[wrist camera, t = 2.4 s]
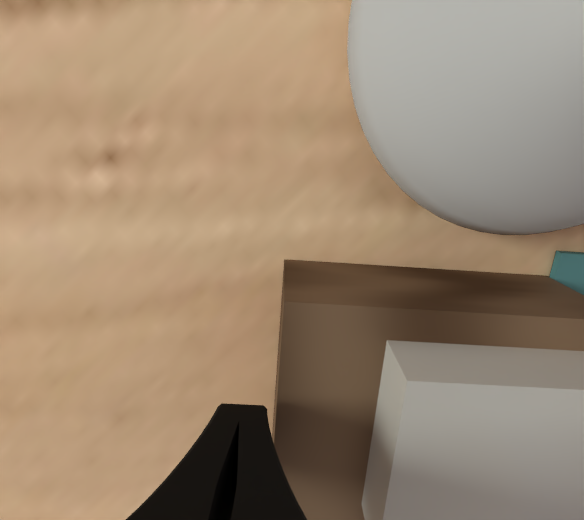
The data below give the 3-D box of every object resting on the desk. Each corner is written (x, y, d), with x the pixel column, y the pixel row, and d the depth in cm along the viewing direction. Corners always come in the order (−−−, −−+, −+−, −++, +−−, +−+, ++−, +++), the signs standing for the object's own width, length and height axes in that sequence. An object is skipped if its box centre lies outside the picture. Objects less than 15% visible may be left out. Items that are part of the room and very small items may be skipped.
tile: (590, 351, 12) (651, 393, 10) (539, 511, 13) (581, 573, 11) (386, 339, 11) (406, 380, 10) (361, 504, 13) (374, 566, 11)
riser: (546, 276, 15) (634, 322, 11) (500, 448, 18) (561, 535, 14) (284, 259, 15) (284, 301, 11) (272, 437, 17) (268, 523, 13)
